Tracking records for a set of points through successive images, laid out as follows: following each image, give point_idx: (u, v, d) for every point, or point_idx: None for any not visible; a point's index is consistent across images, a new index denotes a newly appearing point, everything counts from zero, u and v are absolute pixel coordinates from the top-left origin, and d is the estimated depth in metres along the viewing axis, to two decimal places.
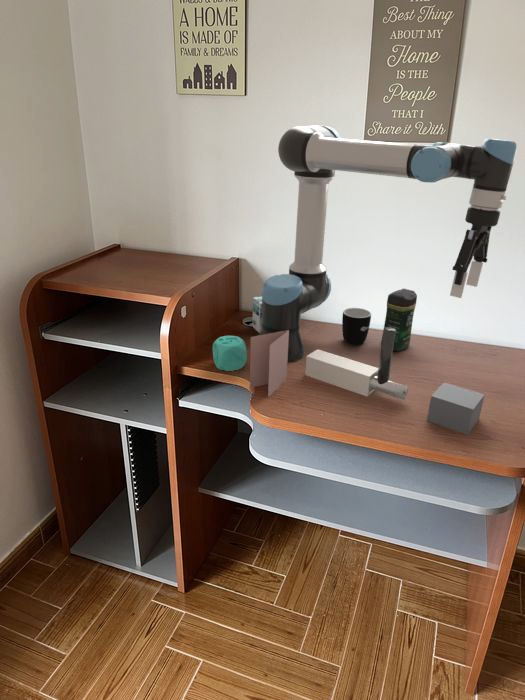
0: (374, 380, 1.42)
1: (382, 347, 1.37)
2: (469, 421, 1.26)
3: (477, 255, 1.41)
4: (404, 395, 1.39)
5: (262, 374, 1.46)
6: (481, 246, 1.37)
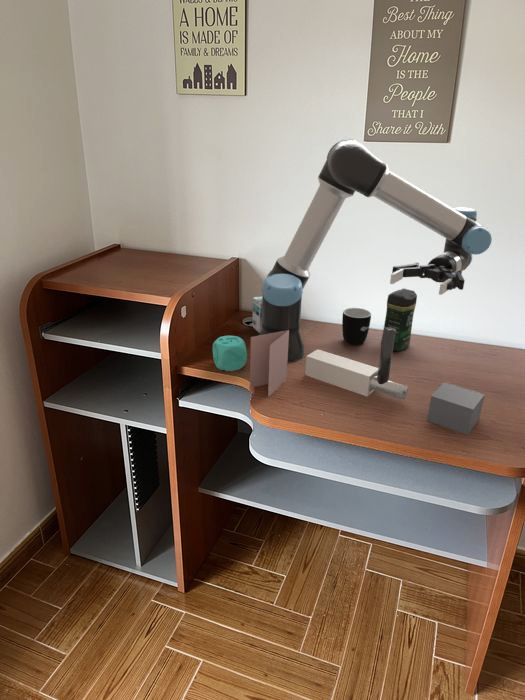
0: (374, 380, 1.42)
1: (382, 347, 1.37)
2: (469, 421, 1.26)
3: (407, 272, 1.51)
4: (404, 395, 1.39)
5: (262, 374, 1.46)
6: (419, 275, 1.53)
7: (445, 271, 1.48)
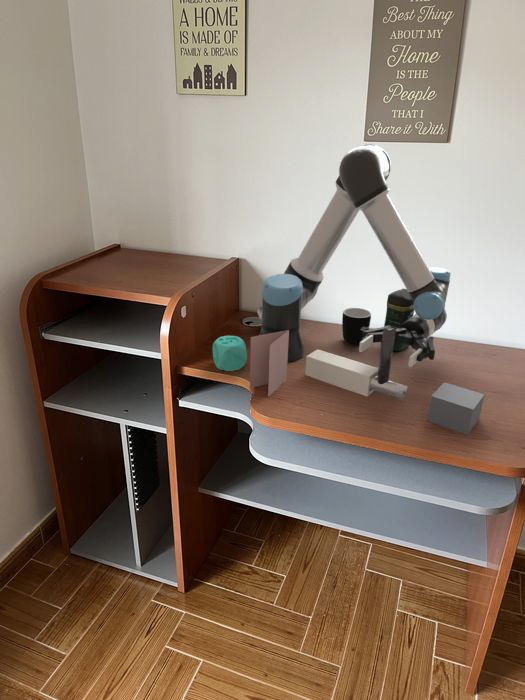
0: (374, 380, 1.42)
1: (382, 347, 1.37)
2: (469, 421, 1.26)
3: (377, 337, 1.46)
4: (404, 395, 1.39)
5: (262, 374, 1.46)
6: None
7: (416, 338, 1.43)
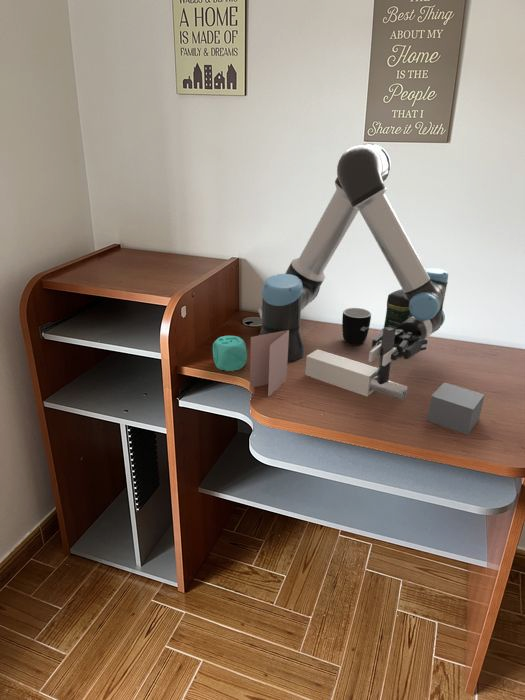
0: (374, 380, 1.42)
1: (382, 347, 1.37)
2: (469, 421, 1.26)
3: None
4: (404, 395, 1.39)
5: (262, 374, 1.46)
6: None
7: (405, 338, 1.43)
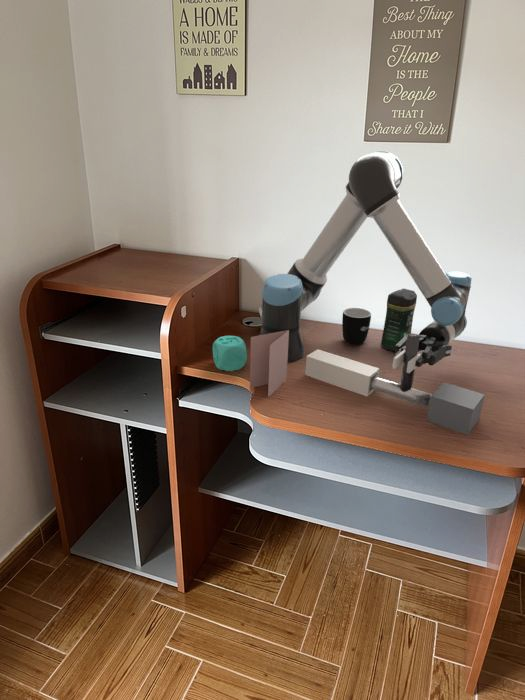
0: (397, 387, 1.39)
1: (406, 354, 1.34)
2: (469, 421, 1.26)
3: None
4: (428, 403, 1.36)
5: (262, 374, 1.46)
6: None
7: (429, 344, 1.39)
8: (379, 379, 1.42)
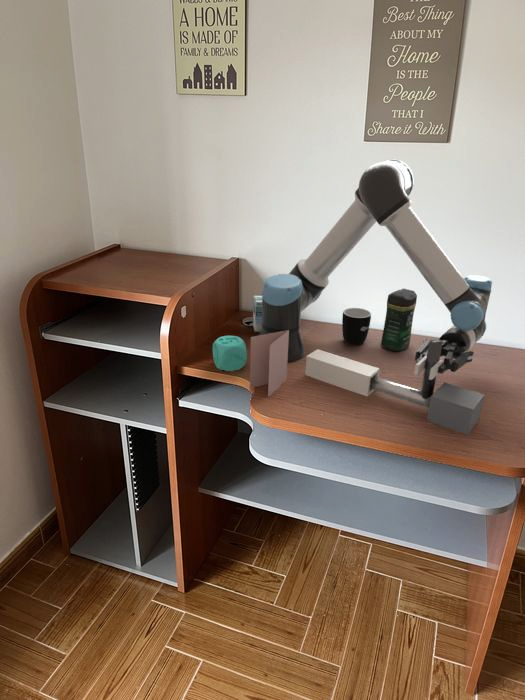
0: (418, 394, 1.35)
1: (428, 360, 1.31)
2: (469, 421, 1.26)
3: None
4: None
5: (262, 374, 1.46)
6: None
7: (450, 350, 1.36)
8: (399, 385, 1.39)
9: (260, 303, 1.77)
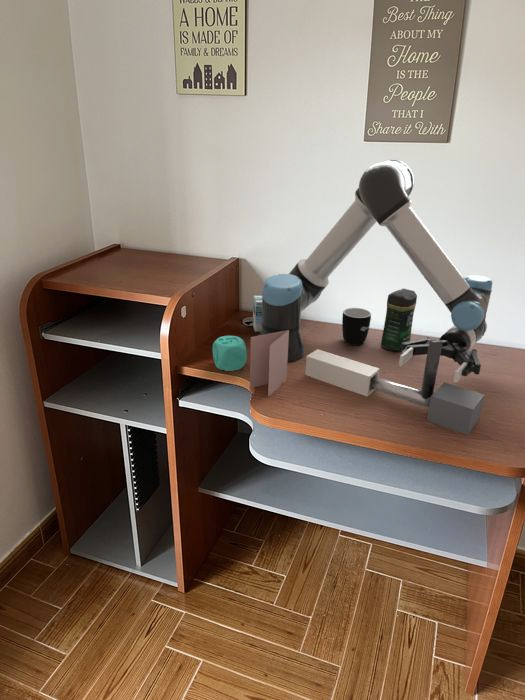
0: (418, 394, 1.35)
1: (428, 360, 1.31)
2: (469, 421, 1.26)
3: (417, 350, 1.39)
4: None
5: (262, 374, 1.46)
6: None
7: (459, 351, 1.36)
8: (399, 385, 1.39)
9: (260, 303, 1.77)
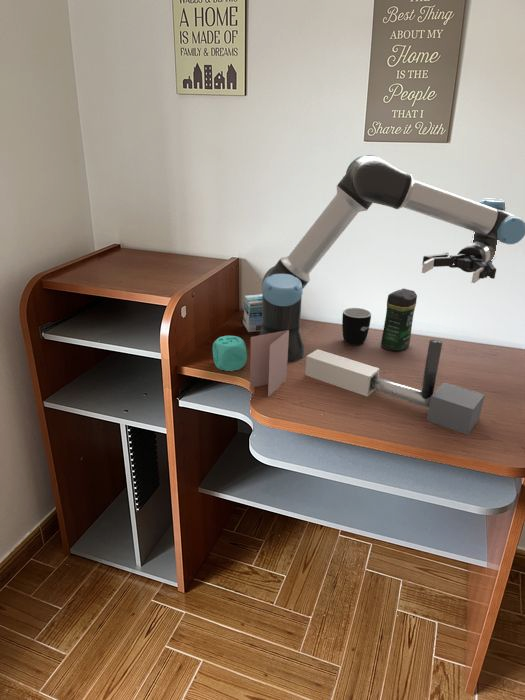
0: (418, 394, 1.35)
1: (428, 360, 1.31)
2: (469, 421, 1.26)
3: (437, 261, 1.53)
4: None
5: (262, 374, 1.46)
6: (449, 264, 1.54)
7: (476, 260, 1.50)
8: (399, 385, 1.39)
9: (254, 304, 1.76)
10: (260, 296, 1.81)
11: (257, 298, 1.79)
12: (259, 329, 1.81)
